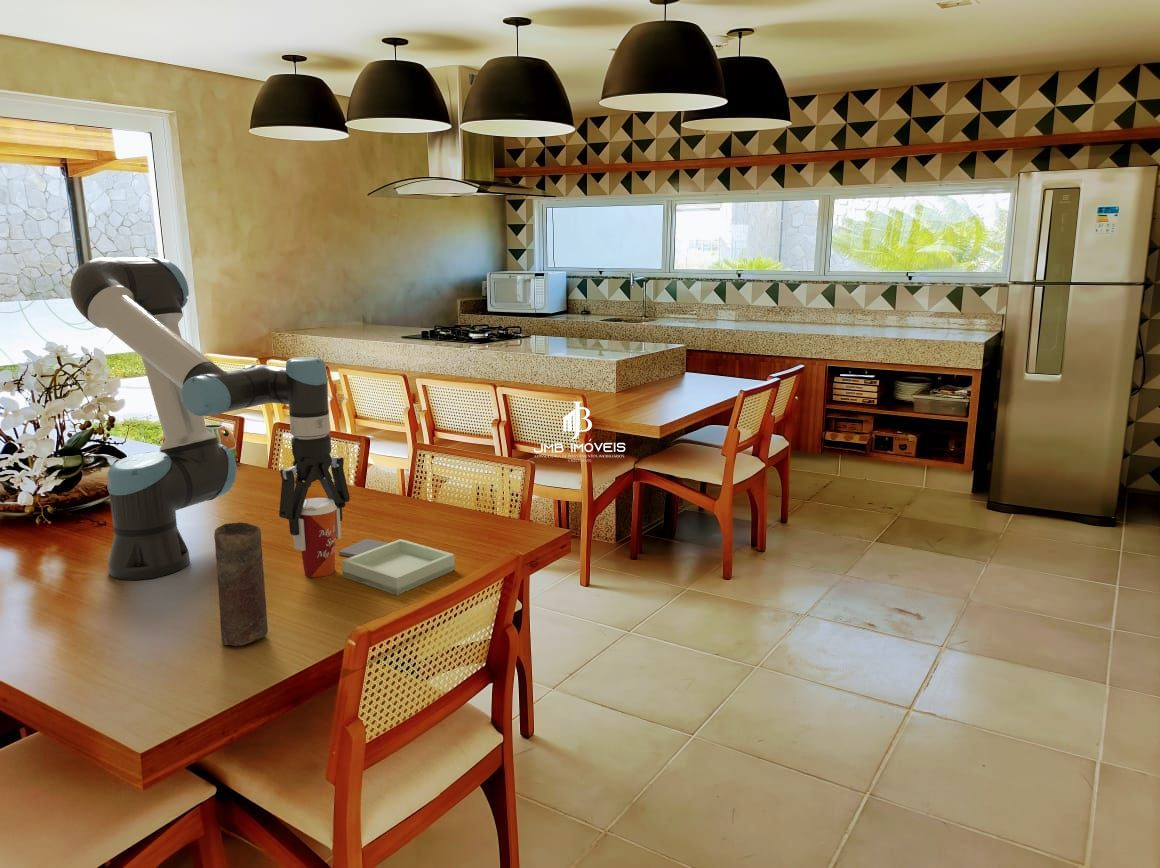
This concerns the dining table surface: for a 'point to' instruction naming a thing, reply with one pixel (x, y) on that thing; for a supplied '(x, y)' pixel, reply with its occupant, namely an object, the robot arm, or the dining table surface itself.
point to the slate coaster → (361, 547)
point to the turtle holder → (223, 437)
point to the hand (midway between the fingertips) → (318, 542)
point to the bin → (398, 566)
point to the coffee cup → (319, 536)
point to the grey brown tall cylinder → (240, 583)
